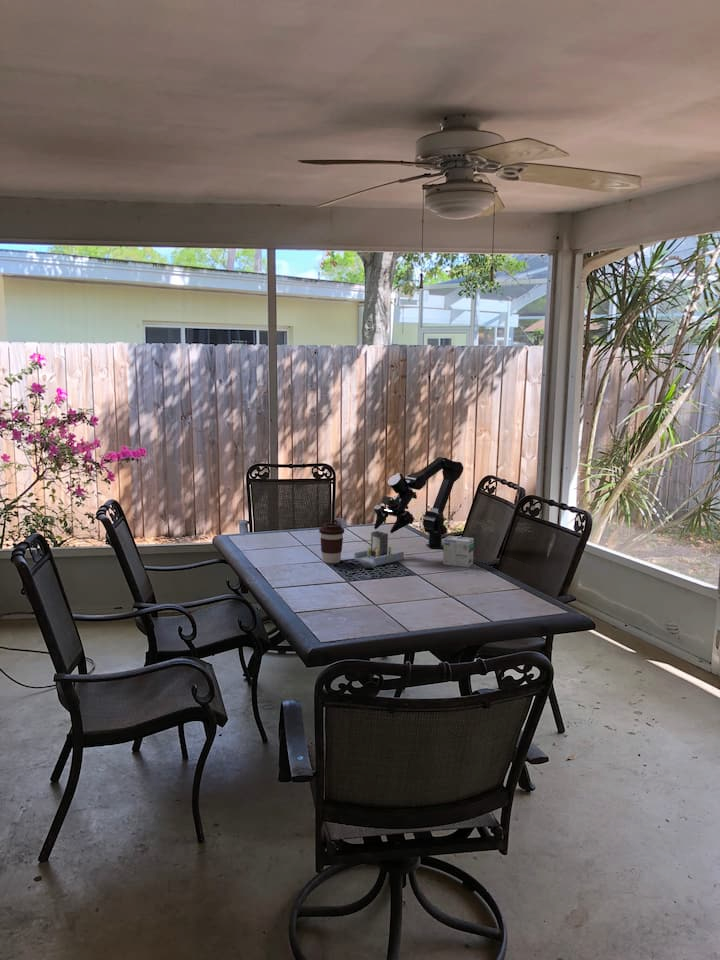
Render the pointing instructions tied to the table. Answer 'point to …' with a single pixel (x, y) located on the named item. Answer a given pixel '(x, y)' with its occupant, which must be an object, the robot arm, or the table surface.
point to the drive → (379, 543)
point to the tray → (377, 557)
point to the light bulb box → (458, 551)
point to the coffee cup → (331, 542)
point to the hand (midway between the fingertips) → (382, 530)
